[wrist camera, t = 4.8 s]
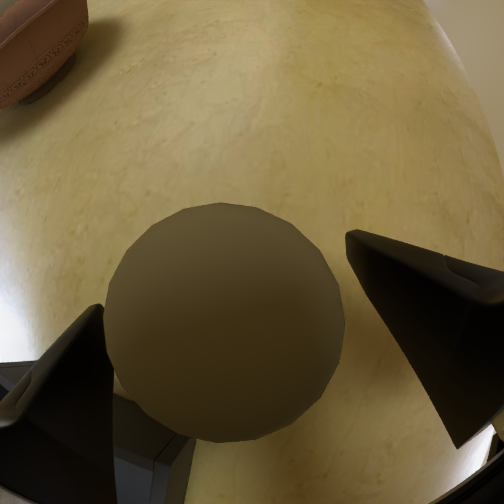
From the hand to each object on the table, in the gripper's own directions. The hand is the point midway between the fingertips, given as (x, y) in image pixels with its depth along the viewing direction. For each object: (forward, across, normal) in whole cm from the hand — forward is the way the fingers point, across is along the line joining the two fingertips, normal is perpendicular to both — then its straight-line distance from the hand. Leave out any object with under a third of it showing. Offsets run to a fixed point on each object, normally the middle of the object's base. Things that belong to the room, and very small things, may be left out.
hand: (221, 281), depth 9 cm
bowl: (+26, +16, -16) cm, 35 cm away
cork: (+4, 0, +6) cm, 7 cm away
